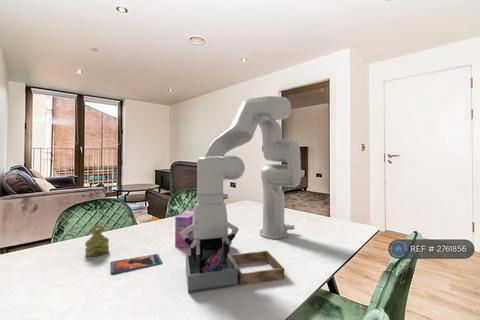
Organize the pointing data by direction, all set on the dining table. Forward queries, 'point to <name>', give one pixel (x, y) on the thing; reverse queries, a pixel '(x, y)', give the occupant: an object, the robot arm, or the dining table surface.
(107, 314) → the dining table surface
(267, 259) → the frame
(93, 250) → the olive green tiered piece
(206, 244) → the supplement container
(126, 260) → the smartphone
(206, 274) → the bin
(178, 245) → the box
